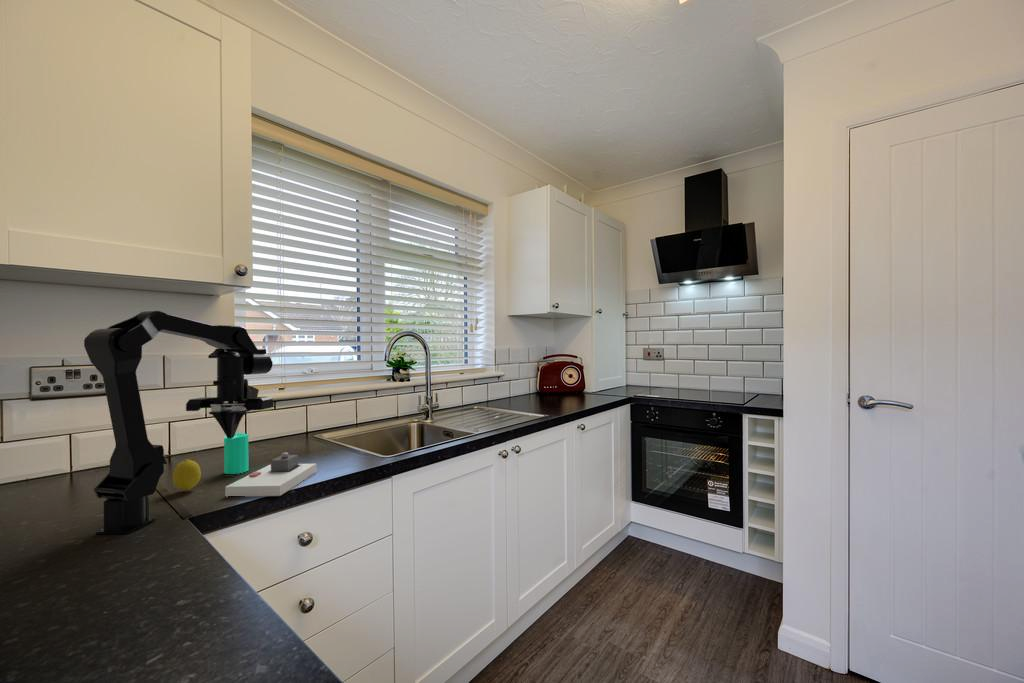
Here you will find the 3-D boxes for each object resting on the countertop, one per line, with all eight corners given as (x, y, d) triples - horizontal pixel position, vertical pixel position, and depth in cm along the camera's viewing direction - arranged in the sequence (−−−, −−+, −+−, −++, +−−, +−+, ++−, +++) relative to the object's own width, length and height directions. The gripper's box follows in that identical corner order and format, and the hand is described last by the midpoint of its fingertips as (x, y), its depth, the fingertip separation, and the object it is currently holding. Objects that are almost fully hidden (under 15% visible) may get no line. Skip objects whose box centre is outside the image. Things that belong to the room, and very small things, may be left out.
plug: (288, 479, 112) (287, 455, 112) (271, 479, 112) (270, 455, 112) (298, 472, 117) (298, 450, 117) (282, 473, 117) (282, 450, 117)
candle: (228, 470, 122) (228, 429, 123) (251, 468, 124) (251, 427, 124) (220, 476, 117) (220, 432, 117) (245, 474, 118) (245, 431, 119)
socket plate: (280, 495, 100) (280, 483, 100) (225, 496, 100) (225, 484, 100) (316, 472, 119) (316, 461, 119) (270, 472, 119) (270, 462, 119)
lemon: (176, 496, 101) (176, 463, 101) (169, 492, 104) (169, 460, 104) (204, 490, 105) (203, 458, 105) (196, 486, 108) (196, 455, 108)
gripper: (284, 373, 114) (285, 431, 114) (216, 374, 114) (215, 432, 114) (260, 376, 103) (260, 440, 103) (184, 377, 103) (184, 441, 103)
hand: (230, 438), depth 106 cm, fingers closed
